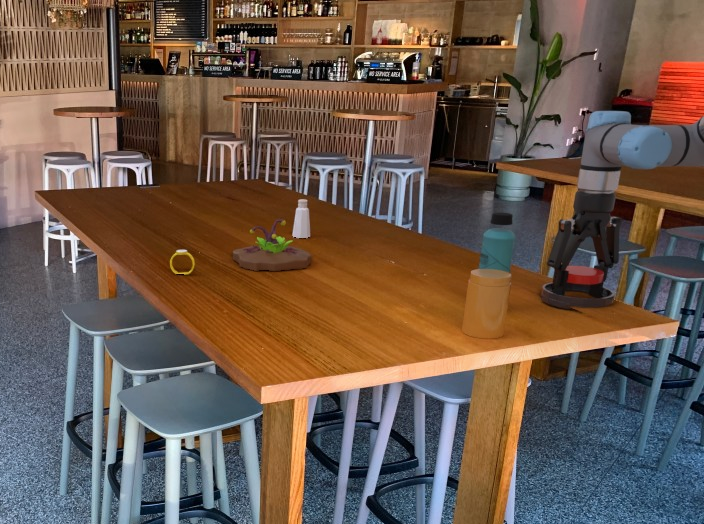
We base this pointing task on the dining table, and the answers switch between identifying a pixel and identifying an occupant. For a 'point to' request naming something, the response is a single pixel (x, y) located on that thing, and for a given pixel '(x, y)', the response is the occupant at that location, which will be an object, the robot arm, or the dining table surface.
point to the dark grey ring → (562, 300)
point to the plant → (272, 253)
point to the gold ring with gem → (182, 252)
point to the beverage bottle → (498, 244)
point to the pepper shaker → (301, 220)
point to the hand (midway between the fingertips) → (576, 297)
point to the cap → (584, 275)
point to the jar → (486, 303)
